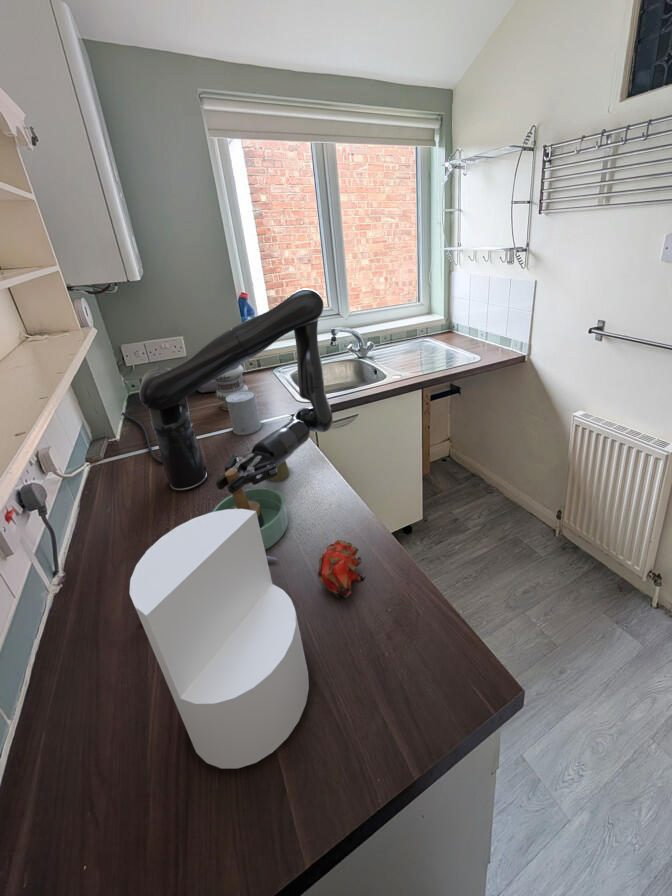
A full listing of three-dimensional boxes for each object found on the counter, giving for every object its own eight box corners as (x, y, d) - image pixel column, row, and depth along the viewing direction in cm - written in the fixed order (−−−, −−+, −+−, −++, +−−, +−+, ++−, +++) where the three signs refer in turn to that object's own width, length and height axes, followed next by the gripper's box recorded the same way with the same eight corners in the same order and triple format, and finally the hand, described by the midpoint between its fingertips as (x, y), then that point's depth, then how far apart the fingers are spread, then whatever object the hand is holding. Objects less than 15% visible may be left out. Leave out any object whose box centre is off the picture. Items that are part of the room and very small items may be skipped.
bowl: (199, 544, 90) (193, 523, 88) (251, 500, 103) (246, 481, 101) (254, 567, 83) (249, 545, 81) (302, 517, 96) (298, 497, 94)
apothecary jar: (221, 414, 152) (211, 370, 145) (216, 403, 161) (206, 361, 154) (254, 406, 157) (245, 362, 150) (246, 396, 167) (238, 355, 160)
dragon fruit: (343, 560, 85) (350, 616, 75) (307, 551, 82) (310, 608, 72) (364, 534, 83) (375, 589, 73) (329, 524, 79) (334, 579, 69)
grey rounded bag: (243, 377, 187) (197, 384, 182) (240, 360, 184) (193, 367, 179) (243, 389, 174) (194, 397, 169) (239, 371, 171) (189, 379, 166)
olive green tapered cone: (284, 481, 110) (277, 447, 106) (263, 480, 111) (256, 446, 107) (292, 469, 116) (287, 435, 111) (273, 467, 117) (267, 434, 113)
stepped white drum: (161, 733, 57) (94, 590, 46) (246, 626, 71) (210, 497, 60) (258, 796, 50) (206, 645, 39) (330, 663, 64) (306, 526, 54)
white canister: (227, 432, 138) (219, 400, 133) (245, 420, 146) (238, 389, 142) (249, 436, 135) (242, 403, 130) (267, 423, 143) (260, 392, 138)
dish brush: (229, 533, 92) (208, 479, 87) (249, 514, 97) (230, 462, 92) (251, 538, 89) (231, 482, 84) (270, 519, 95) (252, 465, 89)
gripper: (252, 430, 102) (196, 466, 88) (296, 439, 96) (244, 480, 82) (257, 455, 105) (204, 494, 91) (301, 466, 99) (251, 509, 85)
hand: (224, 487), depth 86 cm, fingers closed on dish brush, 2 cm apart
